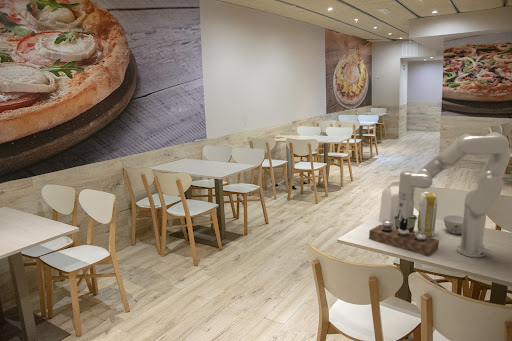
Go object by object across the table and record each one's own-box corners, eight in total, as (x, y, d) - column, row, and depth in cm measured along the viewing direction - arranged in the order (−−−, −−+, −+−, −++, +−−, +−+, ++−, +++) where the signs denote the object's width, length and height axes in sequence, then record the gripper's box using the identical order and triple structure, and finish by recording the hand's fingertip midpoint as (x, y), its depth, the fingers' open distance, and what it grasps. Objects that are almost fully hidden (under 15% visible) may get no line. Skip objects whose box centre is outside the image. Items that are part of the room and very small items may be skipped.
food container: (412, 229, 232) (414, 212, 229) (415, 233, 226) (417, 216, 223) (390, 228, 233) (391, 212, 231) (393, 232, 227) (394, 215, 225)
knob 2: (409, 241, 211) (410, 229, 209) (405, 243, 207) (406, 232, 206) (400, 238, 214) (401, 226, 213) (395, 241, 211) (396, 229, 209)
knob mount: (438, 249, 204) (439, 239, 203) (428, 256, 196) (429, 246, 195) (379, 232, 226) (380, 224, 225) (368, 238, 218) (369, 230, 217)
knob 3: (427, 246, 205) (428, 234, 203) (422, 249, 201) (423, 237, 200) (416, 243, 208) (417, 231, 207) (412, 246, 205) (413, 234, 203)
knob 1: (393, 232, 216) (394, 221, 215) (389, 235, 213) (389, 223, 211) (384, 230, 220) (385, 218, 219) (380, 232, 216) (380, 221, 215)
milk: (389, 227, 235) (392, 184, 229) (378, 220, 246) (381, 179, 240) (407, 225, 238) (411, 182, 232) (396, 219, 248) (399, 178, 243)
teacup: (439, 232, 226) (441, 219, 224) (445, 226, 235) (447, 213, 234) (469, 239, 217) (471, 225, 215) (474, 232, 226) (476, 219, 224)
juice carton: (416, 230, 230) (419, 189, 224) (430, 231, 228) (434, 190, 223) (419, 236, 221) (423, 194, 215) (435, 237, 219) (439, 195, 214)
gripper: (406, 199, 198) (403, 235, 202) (419, 193, 208) (416, 227, 212) (392, 196, 203) (389, 231, 207) (405, 191, 213) (402, 223, 217)
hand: (403, 229), depth 209 cm, fingers closed
